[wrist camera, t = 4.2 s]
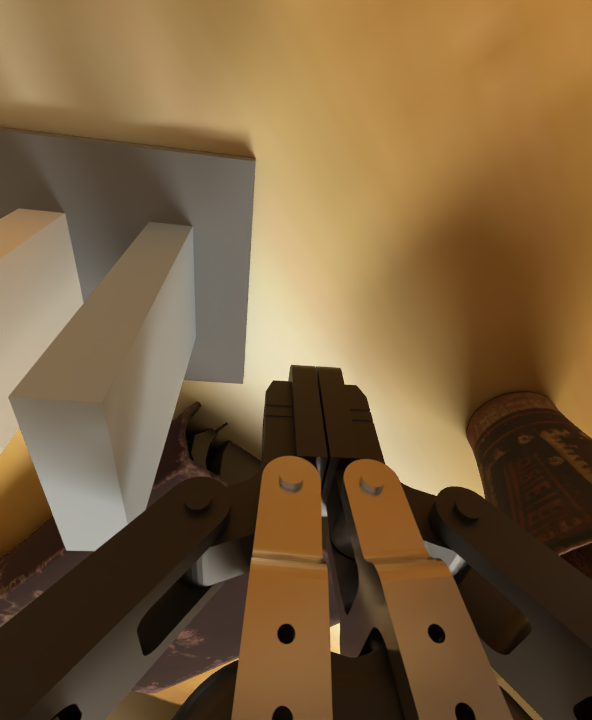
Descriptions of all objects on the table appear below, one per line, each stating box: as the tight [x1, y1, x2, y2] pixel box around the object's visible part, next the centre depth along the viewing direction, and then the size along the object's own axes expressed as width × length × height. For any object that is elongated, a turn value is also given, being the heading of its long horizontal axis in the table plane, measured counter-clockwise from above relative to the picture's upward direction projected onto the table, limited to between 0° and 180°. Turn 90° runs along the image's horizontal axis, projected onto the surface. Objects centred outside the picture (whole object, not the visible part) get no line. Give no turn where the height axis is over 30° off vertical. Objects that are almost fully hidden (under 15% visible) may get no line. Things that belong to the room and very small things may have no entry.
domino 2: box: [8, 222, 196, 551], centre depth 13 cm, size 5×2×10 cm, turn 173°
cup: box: [467, 392, 592, 580], centre depth 19 cm, size 9×9×10 cm
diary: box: [0, 402, 340, 693], centre depth 28 cm, size 19×25×5 cm
